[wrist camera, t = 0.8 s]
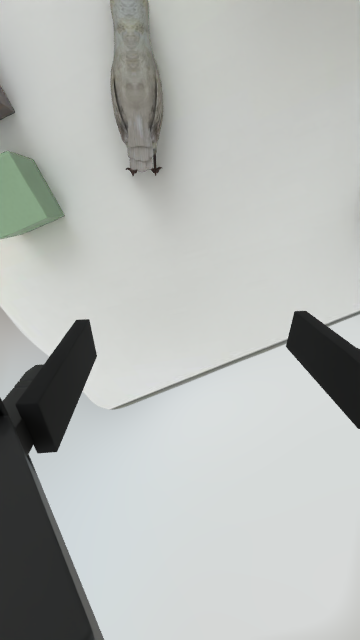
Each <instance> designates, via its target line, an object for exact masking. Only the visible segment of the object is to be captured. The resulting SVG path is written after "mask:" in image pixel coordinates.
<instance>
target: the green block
mask: <svg viewBox="0 0 360 640" xmlns="http://www.w3.org/2000/svg"><path fill="white" fill-rule="evenodd" d="M63 216H64V214H63V212H62V210H61V208H60V207H59V205H58V203H57V201H56V200H55V198H54V196H53V194H52V192H51V191H50V189H49V187H48V185H47V184H46V182H45V180H44V178H43V176H42V175H41V173H40V171H39V169H38V168H37V166H36V164H35V162H34V160H33V159H30V158H27V157H24V156H21V155H18V154H16V153H13V152H10V151H6V152H4V153H2V154H0V239H4V238H8V237H13V236H17V235H22V234H24V233H27V232H29V231H31V230H33V229H36V228H38V227H40V226H42V225H45V224H47V223H49V222H52V221H54V220H56V219H58V218H61V217H63Z"/></svg>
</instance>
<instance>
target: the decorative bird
mask: <svg viewBox="0 0 360 640" xmlns="http://www.w3.org/2000/svg"><path fill="white" fill-rule="evenodd" d="M110 6H111V13H112V18H113V24H114V42H115V45H114V59H113V64H112V69H111V95H112V102H113V109H114V114H115V119H116V122H117V125H118V128H119V131H120V134H121V137H122V140H123V142H124V143H125V144H126V145H127V148H128V157H129V158H130V168H126V170H127V169H128V170H130V172H131V173H132V175H133V176H134V173H137V170H138V171H139V172H145V171H146V169H151V170H152V172H153V173H155V176H156V173H158V172H159V170H160V169H161V168H162V167H158V168H156V149H157V141H158V139H159V134H160V129H161V124H162V117H163V96H162V84H161V80H160V76H159V71H158V68H157V64H156V62H155V59H154V56H153V51H152V47H151V42H150V33H149V25H148V24H149V5H148V0H110ZM152 157H153V159H154V169H153V168H152ZM162 169H163V168H162Z"/></svg>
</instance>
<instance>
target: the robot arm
mask: <svg viewBox="0 0 360 640" xmlns="http://www.w3.org/2000/svg"><path fill="white" fill-rule="evenodd" d="M286 347H287V348H288V350H289V351H290V352H291V353H292V354H293V355H294V356H295V358H297V360H298V361H299V362H300V363H301V364H302V365H303V367H304V368H305V369H306V370H307V371H308V372H309V373H310V375H311V376H312V377H313V378H314V379H315V380H316V381H317V382H318V384H320V386H321V387H322V388H323V389H324V390H325V392H326V393H327V394H328V395H329V396H330V397H331V398H332V399H333V401H334V402H335V403H336V404H337V405H338V406H339V407H340V409H341V410H342V411H343V412H344V413H345V414H346V415H347V416H348V418H349V419H350V420H351V421H352V422H353V423H354V424H355V425H356V427H357V428H358V429H360V349H358V348H356V347H354V346H353V345H352V344H350V343H349V342H348V341H346V340H345V339H343V338H342V337H341V336H339V335H338V334H336V333H335V332H334V331H333V330H331V329H330V328H328V327H327V326H326V325H324V324H323V323H322V322H320V321H319V320H318V319H316V318H315V317H313V316H312V315H311V314H309V313H308V312H307V311H295V312H294V316H293V320H292V324H291V328H290V332H289V336H288V340H287V345H286ZM96 357H97V355H96V350H95V345H94V340H93V335H92V331H91V326H90V321H89V319H88V320H76V321H75V323H74V324H73V325H72V327H71V328H70V329H69V331H68V332H67V334H66V335H65V336H64V338H63V339H62V340H61V342H60V343H59V345H58V346H57V347H56V349H55V350H54V352H53V353H52V354H51V356H50V357H49V359H48V360H47V361H46V363H45V364H44V365H35V366H34V367H32V368H31V369H30V370H28V371H27V372H26V373H25V374H24V375H23V377H22V378H21V379H20V382H18V383H17V384H16V385H15V387H14V388H13V389H12V391H11V392H10V393H9V394H8V395H7V397H6V398H5V399H4V400H3V402H2V400H1V398H0V640H104V638H103V636H102V634H101V631H100V629H99V626H98V624H97V621H96V619H95V616H94V614H93V611H92V609H91V607H90V604H89V602H88V599H87V597H86V594H85V592H84V589H83V587H82V584H81V582H80V579H79V577H78V574H77V572H76V570H75V567H74V565H73V562H72V560H71V557H70V555H69V552H68V550H67V547H66V545H65V542H64V540H63V538H62V535H61V533H60V530H59V528H58V525H57V523H56V520H55V518H54V516H53V513H52V510H51V508H50V506H49V503H48V501H47V498H46V496H45V493H44V491H43V488H42V486H41V483H40V481H39V479H38V476H37V473H36V471H35V469H34V466H33V464H32V461H31V459H30V457H29V455H28V453H29V452H30V450H31V448H32V446H33V444H34V447H35V449H36V451H37V453H48V452H57V450H58V448H59V446H60V443H61V441H62V439H63V436H64V434H65V431H66V429H67V427H68V424H69V422H70V419H71V417H72V414H73V412H74V409H75V407H76V405H77V403H78V400H79V398H80V395H81V393H82V391H83V388H84V386H85V383H86V381H87V379H88V376H89V374H90V371H91V369H92V367H93V364H94V362H95V359H96Z"/></svg>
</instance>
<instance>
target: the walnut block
mask: <svg viewBox="0 0 360 640" xmlns="http://www.w3.org/2000/svg"><path fill="white" fill-rule="evenodd" d="M14 112H15V111H14V109H13V107H12V106H11V104H10V102H9V100H8V98H7V97H6V95H5V93H4V91H3V89H2V87H1V86H0V120H1V119H3V118H5V117H7V116H9V115H11V114H13V113H14Z"/></svg>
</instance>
